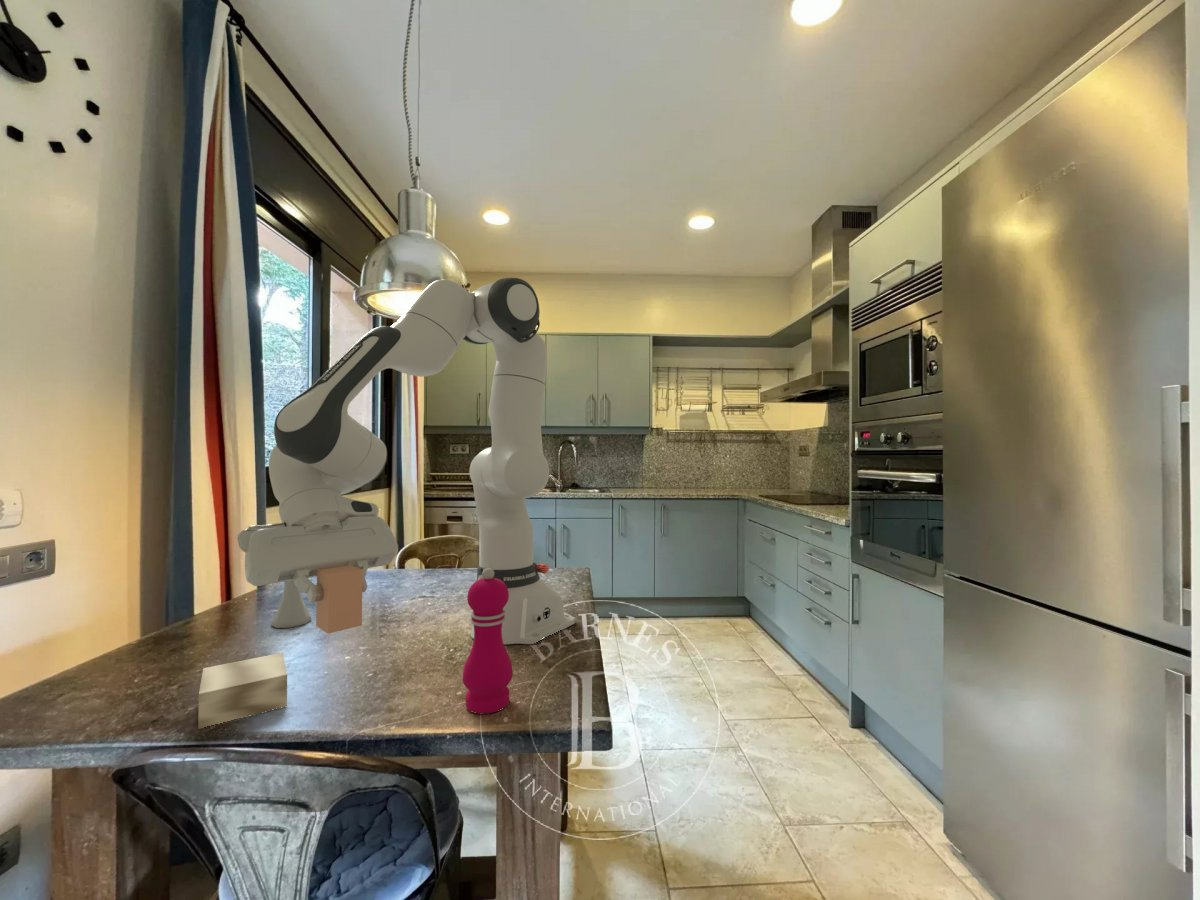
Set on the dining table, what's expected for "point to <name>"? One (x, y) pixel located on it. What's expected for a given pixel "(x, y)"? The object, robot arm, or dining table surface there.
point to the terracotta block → (339, 598)
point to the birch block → (242, 689)
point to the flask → (291, 608)
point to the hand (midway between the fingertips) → (339, 595)
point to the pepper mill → (487, 647)
